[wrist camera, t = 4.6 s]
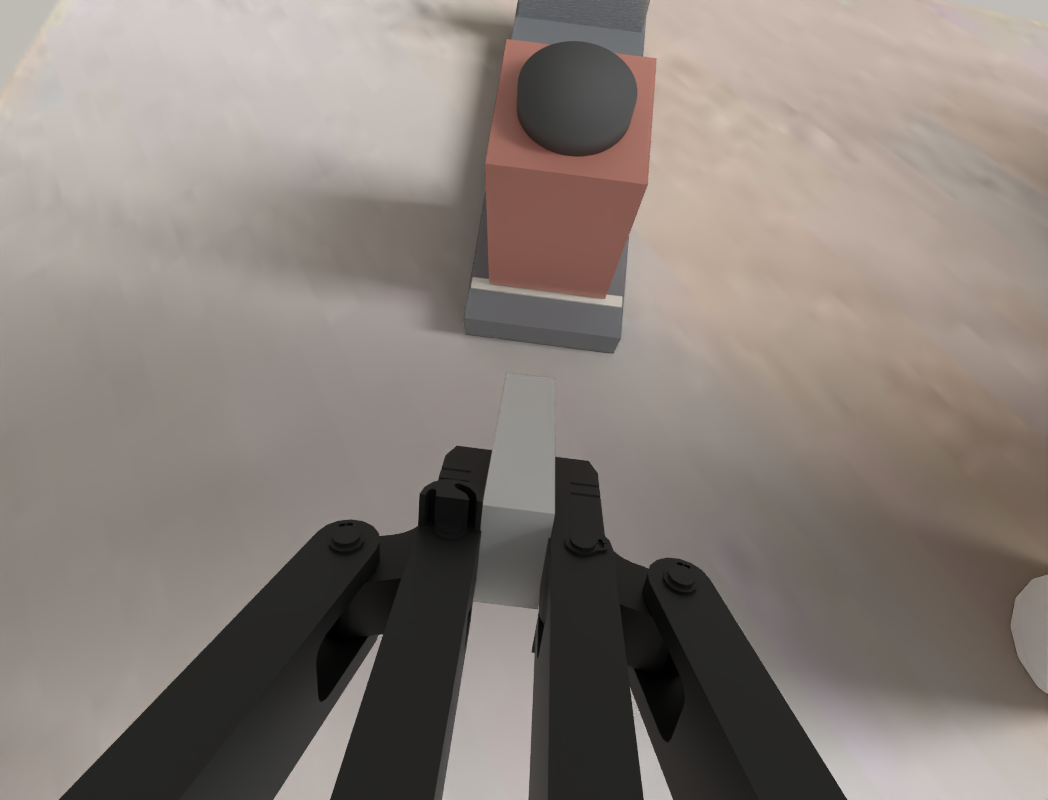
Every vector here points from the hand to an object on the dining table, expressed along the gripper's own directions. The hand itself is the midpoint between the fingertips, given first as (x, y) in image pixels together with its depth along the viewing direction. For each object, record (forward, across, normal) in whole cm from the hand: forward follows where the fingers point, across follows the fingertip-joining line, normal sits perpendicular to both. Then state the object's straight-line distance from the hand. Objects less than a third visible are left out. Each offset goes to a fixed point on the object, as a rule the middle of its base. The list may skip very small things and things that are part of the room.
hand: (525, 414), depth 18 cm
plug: (+15, 0, +2) cm, 15 cm away
